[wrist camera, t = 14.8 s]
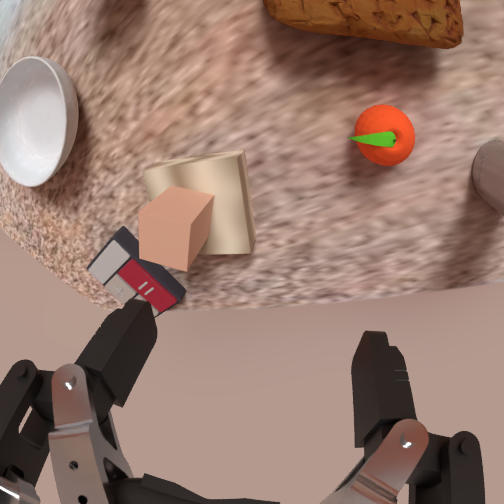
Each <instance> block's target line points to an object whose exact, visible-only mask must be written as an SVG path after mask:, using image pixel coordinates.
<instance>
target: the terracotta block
mask: <svg viewBox="0 0 504 504" xmlns="http://www.w3.org/2000/svg"><path fill="white" fill-rule="evenodd" d="M213 201H214V195H213V194H208V193H203V192H199V191H194V190H189V189H184V188H180V187H175V186H170V187H169V188H167V189H166V190H165V191H164V192H162V193H161V194H160V195H159V196H157V197H156V198H155V199H154V200H152V201H151V202H150V203H149V204H148V205H146V206H145V207H144V208H143V209H142V210H140V211H139V259H143V260H146V261H150V262H153V263H157V264H160V265H164V266H168V267H171V268H175V269H178V270H182V271H186V272H187V271H188V269H189V267H190V266H191V264H192V262H193V261H194V259H195V257H196V256H197V254H198V253H199V251H200V249H201V248H202V246H203V244H204V243H205V241H206V239H207V238H208V236H209V230H210V223H211V215H212V208H213Z"/></svg>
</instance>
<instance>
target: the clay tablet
mask: <svg viewBox="0 0 504 504" xmlns="http://www.w3.org/2000/svg"><path fill="white" fill-rule="evenodd" d="M263 1H264V6H265V7H267V9H268V12H269V15H270V16H271V17H274V19H275V20H277V21H279V22H281V23H283V24H285V25H288V26H291V27H294V28H296V29H299V30H302V31H308V32H313V33H321V34H332V35H345V36H356V37H363V38H370V39H378V40H385V41H391V42H395V43H400V44H407V45H417V46H425V47H432V48H442V49H450V48H454V47H456V46H458V45H459V44H460V43H462V39H461V37H463V20H462V15H461V7H460V1H459V0H263Z"/></svg>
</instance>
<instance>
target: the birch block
mask: <svg viewBox="0 0 504 504" xmlns="http://www.w3.org/2000/svg"><path fill="white" fill-rule="evenodd" d="M142 172H143V177H144V181H145V185H146V189H147V193H148V197H149V201H150V202H151V201H152V200H154V199H155V198H156V197H157V196H159V195H160V194H161V193H162V192H164V191H165V190H166V189H167V188H169V187H170V186H175V187H180V188H184V189H189V190H194V191H199V192H203V193H208V194H213V195H214V201H213V208H212V215H211V223H210V230H209V236H208V238H207V239H206V241H205V243H204V244H203V246H202V248H201V249H200V251H199V253H198V254H197V255H211V254H249V253H251V251H252V248H253V245H254V242H255V239H256V231H255V224H254V216H253V209H252V201H251V193H250V186H249V179H248V171H247V164H246V156H245V150H242V151H232V152H223V153H215V154H207V155H200V156H193V157H186V158H180V159H173V160H167V161H161V162H158V163H156V164H154V165H152V166H151V167H149V168H147V169H145V170H144V171H142Z"/></svg>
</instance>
